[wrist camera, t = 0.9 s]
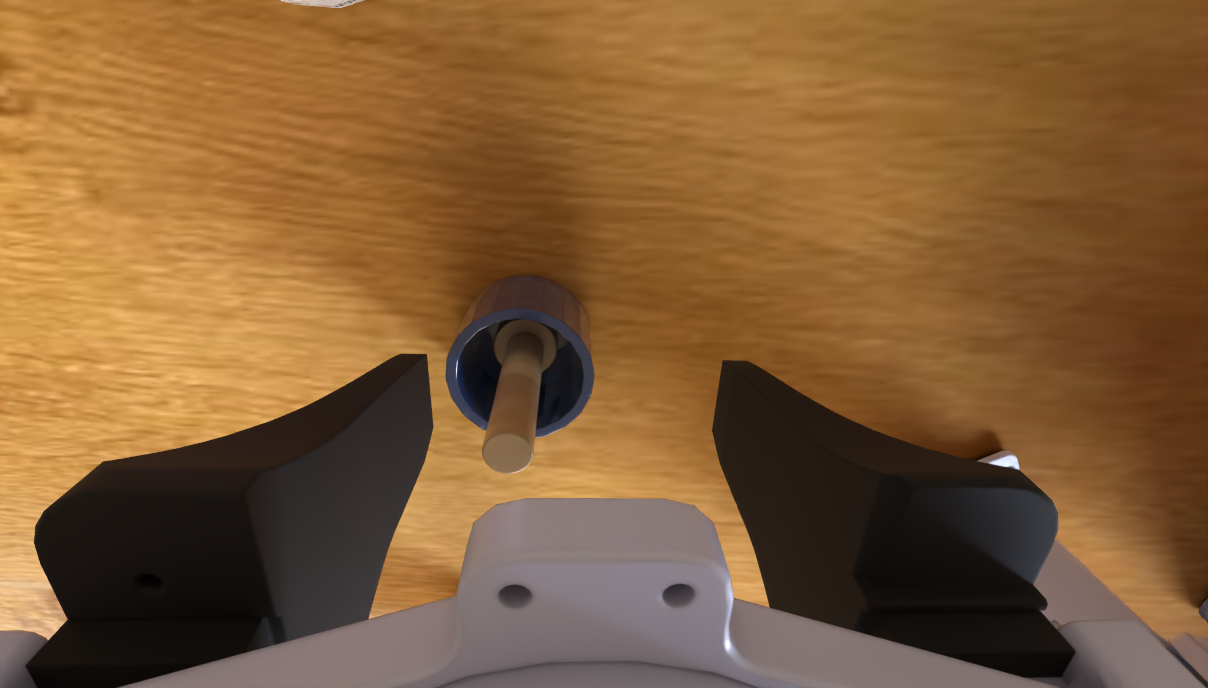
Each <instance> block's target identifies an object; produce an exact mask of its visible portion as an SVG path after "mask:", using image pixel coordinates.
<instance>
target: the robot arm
mask: <svg viewBox="0 0 1208 688" xmlns="http://www.w3.org/2000/svg"><path fill="white" fill-rule="evenodd" d="M432 430H433V418H432V407H431V396H430V385H429V374H428V363H427V354H399V355H397V356H395V357H393V358H391V359H389V360H387V361H386V362H384V363H382V364H381V365H379V366H377V367H376V368H374V369H372V370H371V371H369V372H367V373H366V374H364V375H362V376H361V377H359V378H357V379H355V380H354V381H352V382H350V383H349V384H347V385H345V386H343V387H341V388H340V389H338V390H336V391H334V392H332V393H330V394H328V395H327V396H325V397H323V398H321V399H319V400H317V401H315V402H313V403H311V404H309V405H307V406H305V407H303V408H301V409H298V410H296V411H294V412H291V413H289V414H287V415H284V416H282V417H279V418H277V419H274V420H272V421H269V422H266V423H263V424H260V425H257V426H254V427H251V428H248V429H245V430H242V431H239V432H236V433H234V434H231V435H227V436H224V437H220V438H217V439H213V440H209V441H206V442H202V443H198V444H193V445H189V446H185V447H181V448H177V449H172V450H167V451H162V452H157V453H151V454H146V455H140V456H134V457H129V458H123V459H117V460H111V461H104V462H102V463H101V464H100V465H99V466H97V467H96V468H95V469H94V470H93V471H91V472H90V473H89V474H88V475H87V476H85V477H84V478H83V479H82V480H81V481H79V482H78V483H77V484H76V485H75V486H73V487H72V488H71V489H70V490H69V491H67V492H66V493H65V494H64V495H63V496H61V497H60V498H59V499H58V500H57V501H55V502H54V503H53V504H52V505H51V506H49V507H48V508H47V509H46V510H45V511H44V512H43V514H42V515H41V517H40V519H39V521H38V522H37V524H36V526H35V537H34V544H35V548H36V551H37V554H38V558H39V561H40V564H41V566H42V568H43V570H44V572H45V574H46V576H47V578H48V580H49V582H50V584H51V586H52V588H53V590H54V592H55V595H56V597H57V599H58V601H59V603H60V605H61V607H62V609H63V611H64V613H65V615H66V617H67V619H68V620H67V621H66V622H65V623H64V624H63V625H62V626H61V628H60V629H59V630H58V631H57V632H56V633H55V634H54V635H53V636H52V637H51V638H50V639H49V640H47V639H46V638H45V637H43V636H41V635H39V634H37V633H35V632H29V631H22V630H13V631H0V688H1208V638H1205V637H1199V636H1195V637H1193V636H1192V635H1190V634H1188V633H1186V632H1180V633H1177V634H1176V635H1174V636H1173V637H1172V638H1170V639H1169V642H1170V643H1171V644H1172V645H1171V644H1170V643H1169V642H1167V641H1166V640H1165V639H1163V638H1162V637H1161V636H1159V635H1158V634H1157V633H1156V632H1154V631H1153V630H1152V629H1151V628H1150V627H1149V626H1148V625H1147V624H1146V623H1144V622H1143V621H1142V620H1141V619H1140V618H1139V617H1138V616H1137V615H1136V614H1135V613H1134V612H1133V611H1132V610H1131V609H1130V608H1129V607H1128V606H1127V605H1126V604H1125V603H1124V602H1123V601H1121V600H1120V599H1119V598H1118V597H1117V596H1116V595H1115V594H1114V593H1113V592H1112V591H1111V590H1110V589H1109V588H1108V587H1107V586H1106V585H1105V584H1104V583H1103V582H1102V581H1101V580H1100V579H1098V578H1097V577H1096V576H1095V575H1094V574H1093V573H1092V572H1091V571H1090V570H1089V569H1088V568H1087V567H1086V566H1085V565H1084V564H1083V563H1082V562H1081V561H1080V560H1079V559H1078V558H1077V557H1075V556H1074V555H1073V554H1072V553H1071V552H1070V551H1069V550H1068V549H1067V548H1066V547H1065V546H1064V545H1063V544H1062V543H1061V542H1060V541H1059V540H1058V539H1057V538H1056V534H1057V531H1058V512H1057V510H1056V507H1055V505H1054V503H1053V501H1052V500H1051V499H1050V498H1049V497H1048V496H1047V495H1046V494H1045V493H1044V492H1043V491H1042V490H1041V489H1040V488H1038V487H1037V486H1036V485H1035V484H1034V483H1033V482H1032V481H1031V480H1030V479H1029V478H1028V477H1026V476H1025V475H1024V474H1023V473H1022V472H1021V471H1020V469H1019V465H1018V460H1017V457H1016V456H1015V455H1014V454H1013V453H1012V452H1010V451H1007V450H1004V451H1000V452H998V453H995V454H993V455H990V456H988V457H985V458H983V459H980V460H977V461H974V460H969V459H964V458H960V457H956V456H952V455H948V454H945V453H941V452H937V451H933V450H930V449H926V448H923V447H920V446H917V445H913V444H910V443H907V442H905V441H902V440H899V439H896V438H893V437H890V436H888V435H885V434H882V433H880V432H877V431H875V430H872V429H870V428H867V427H865V426H863V425H861V424H858V423H856V422H854V421H852V420H849V419H847V418H845V417H843V416H841V415H839V414H837V413H835V412H833V411H831V410H830V409H828V408H826V407H824V406H822V405H820V404H819V403H817V402H815V401H813V400H811V399H810V398H808V397H806V396H805V395H803V394H801V393H800V392H798V391H796V390H795V389H793V388H792V387H790V386H788V385H787V384H785V383H784V382H782V381H781V380H779V379H777V378H776V377H774V376H773V375H771V374H770V373H768V372H766V371H765V370H763V369H761V368H760V367H758V366H756V365H755V364H753V363H751V362H748V361H728V360H723V362H722V369H721V375H720V382H719V388H718V395H717V402H716V408H715V415H714V422H713V428H712V432H713V436H714V441H715V445H716V450H717V454H718V458H719V462H720V465H721V467H722V470H723V472H724V475H725V477H726V480H727V482H728V485H729V487H730V490H731V492H732V495H733V497H734V500H735V502H736V504H737V507H738V509H739V512H740V514H741V517H742V519H743V521H744V524H745V526H746V529H747V531H748V534H749V536H750V539H751V542H752V545H753V548H754V551H755V554H756V558H757V561H758V565H759V568H760V572H761V576H762V579H763V583H764V586H765V590H766V594H767V598H768V602H769V606H770V608H769V607H765V606H762V605H758V604H754V603H751V602H747V601H743V600H740V599H736V598H734V596H733V590H732V584H731V578H730V573H729V570H728V567H727V564H726V561H725V558H724V554H723V551H722V548H721V545H720V542H719V539H718V535H717V532H716V529H715V526H714V523H713V522H712V521H711V520H710V519H709V518H708V517H706V516H705V515H704V514H703V513H702V512H701V511H700V510H699V509H698V508H697V507H695V506H694V505H690V504H686V503H681V502H677V501H672V500H668V499H615V498H526V499H521V500H516V501H511V502H506V503H501V504H497V505H495V506H494V507H492V508H491V509H490V510H489V511H487V512H486V513H485V514H484V515H482V516H481V517H480V518H479V519H477V520H476V521H475V522H474V523H473V527H472V530H471V533H470V537H469V540H468V544H467V548H466V552H465V557H464V561H463V566H462V570H461V575H460V579H459V584H458V588H457V592H456V596H453V597H449V598H445V599H442V600H438V601H434V602H431V603H427V604H423V605H419V606H416V607H412V608H408V609H405V610H401V611H397V612H394V613H390V614H386V615H383V616H379V617H375V618H372V619H368V618H369V614H370V611H371V607H372V603H373V600H374V596H375V592H376V589H377V585H378V582H379V578H380V575H381V572H382V568H383V565H384V561H385V558H386V554H387V551H388V548H389V546H390V543H391V540H392V537H393V535H394V532H395V530H396V528H397V525H398V523H399V521H400V518H401V516H402V514H403V511H404V509H405V507H406V504H407V502H408V500H409V497H410V495H411V493H412V490H413V488H414V486H415V483H416V481H417V478H418V476H419V474H420V471H421V469H422V466H423V464H424V461H425V458H426V454H427V451H428V447H429V443H430V439H431V435H432Z"/></svg>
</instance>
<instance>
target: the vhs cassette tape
mask: <svg viewBox="0 0 1208 688" xmlns="http://www.w3.org/2000/svg"><path fill="white" fill-rule="evenodd" d="M1199 614H1200V615H1201V617H1202V618H1203V619H1205V620H1206V621H1207V622H1208V598H1207V599H1206V600H1205V601H1204V603H1203V604H1202V605H1201V607H1200V608H1199Z"/></svg>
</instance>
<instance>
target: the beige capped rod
mask: <svg viewBox="0 0 1208 688" xmlns="http://www.w3.org/2000/svg"><path fill="white" fill-rule="evenodd" d="M493 348H494V353H495V356H496V358H497V360H498V362H499V363H500V364H501V365H502V368H501V372H500V377H499V381H498V385H497V389H496V393H495V397H494V402H493V406H492V410H491V414H490V418H489V422H488V427H487V431H486V435H485V439H484V443H483V448H482V455H483V458H484V461H485V462H486V464H487V465H488V466H489V467H490V468H492V469H493V470H495V471H497V472H500V473H506V474H511V473H516V472H519V471H521V470H523V469H525V468H526V467H527V466H528V465H529V464H530V462H531V460H532V458H533V452H534V442H535V432H536V422H537V412H538V402H539V393H540V383H541V373H542V372H543V371H545V370H546V369H547V368H549V367H550V366H551V364H552V363H553V362H554V360H555V358H556V355H557V349H558V337H557V333H556V331H555V329H553V328H551V327H549V326H547V325H545V324H542V323H540V322H538V321H531V320H523V319H512V320H505V321H503V322H502V323H501V324H500V325H499V327H498V329H497V332H496V335H495V338H494V344H493Z"/></svg>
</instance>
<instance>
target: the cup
mask: <svg viewBox="0 0 1208 688" xmlns="http://www.w3.org/2000/svg"><path fill="white" fill-rule="evenodd" d="M512 319H523V320H531V321H538V322H540V323H542V324H545V325H547V326H549V327H551V328H553V329H555V331H556V333H557V337H558V349H557V355H556V358H555V360H554V362H553V363H552V364H551V366H550V367H549V368H547V369H546V370H545V371H543V372H542V373H541V383H540V393H539V402H538V412H537V422H536V432H535V438H536V437H543V436H545V435H546V436H547V435H549V434H551V433H553V432H556V431H558V430H560V429H562V428H564V427H566V426H567V425H568V424H569V423H570V422H572V421H573V420H574V419H575V418H576V417H577V416H578V415H580V413H581V412H582V410H583V409H584V407H585V405H586V404H587V402H588V400H589V399H590V396H591V393H592V388H593V383H594V362H593V348H592V337H591V330H590V323H589V320H588V317H587V314H586V312H585V310H584V308H583V307H582V305H581V303H580V302H579V301H578V300H577V298H576V297H575V296H574V295H573V294H572V293H571V292H569V291H568V290H567V289H566V288H564V287H563V286H561V285H559V284H557V283H555V282H554V281H551V280H548V279H546V278H541V277H537V276H513V277H509V278H505V279H502V280H499V281H497V282H495V283H493V284H491V285H490V286H488V287H487V288H485V289H484V290H483V291H481V292H480V293H479V295H478V296H477V297H476V298H475V299H474V300H473V302H472V303H471V305H470V307H469V309H468V311H467V313H466V315H465V317H464V320H463V322H462V324H461V326H460V329H459V331H458V333H457V335H456V338H455V340H454V342H453V344H452V347H451V349H450V351H449V353H448V356H447V362H446V382H447V385H448V388H449V392H450V395H451V398H452V400H453V401H454V402H455V404H456V405H457V407H458V408H459V409H460V411H461V412H462V414H463V415H464V416H465V417H467V418H468V419H469V420H470V421H472V422H473V423H474V424H476V425H477V426H478V427H480V428H482V429H483V430H486V431H487V427H488V422H489V418H490V414H491V410H492V406H493V402H494V397H495V393H496V389H497V385H498V381H499V377H500V372H501V368H502V365H501V364H500V363H499V362H498V360H497V358H496V356H495V353H494V348H493V344H494V338H495V335H496V332H497V329H498V327H499V325H500V324H501V323H502V322H503V321H505V320H512Z"/></svg>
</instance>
